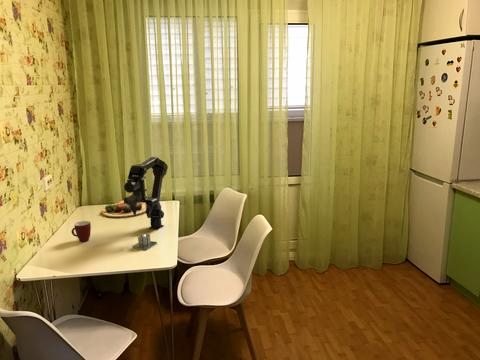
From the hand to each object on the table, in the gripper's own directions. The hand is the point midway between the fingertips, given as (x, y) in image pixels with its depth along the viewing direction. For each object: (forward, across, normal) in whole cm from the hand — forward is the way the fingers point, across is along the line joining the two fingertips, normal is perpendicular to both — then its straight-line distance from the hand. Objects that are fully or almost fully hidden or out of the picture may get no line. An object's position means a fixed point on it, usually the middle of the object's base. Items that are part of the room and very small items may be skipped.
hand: (141, 215), depth 216 cm
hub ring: (+11, +9, -11) cm, 18 cm away
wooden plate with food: (+13, -41, +36) cm, 56 cm away
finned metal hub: (+12, +9, -11) cm, 19 cm away
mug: (+12, -28, -17) cm, 35 cm away
